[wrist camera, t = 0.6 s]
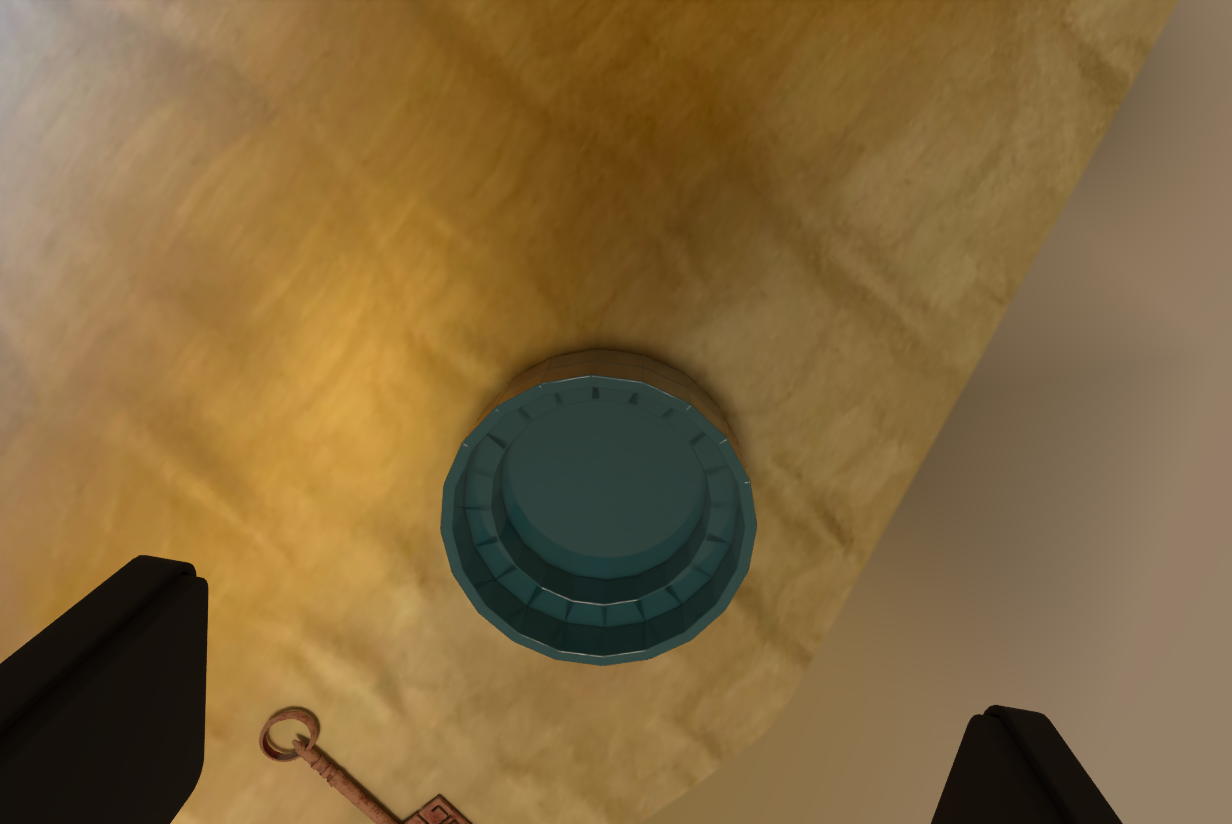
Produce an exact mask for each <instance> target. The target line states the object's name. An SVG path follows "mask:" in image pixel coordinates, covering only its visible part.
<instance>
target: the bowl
mask: <svg viewBox="0 0 1232 824" xmlns="http://www.w3.org/2000/svg"><path fill="white" fill-rule="evenodd" d="M440 529H441V535H442V538H443V542H444V546H445V549H446V553H447V557H448V560H449V564H450V568H451V571H452V574H453V576H454V577H455V579H456V580H457V582H458V583H459V585H460V586H461V588H462V589H463V591H464V592H465V594H466V595H467V597H468V598H469V600H470V601H471V603H472V604H473V606H474V607H475V609H476V610H477V611H478V613H479V614H480V615H482V616H483V617H484V618H485V619H486V620H488V621H489V622H490V623H491V624H493V625H494V626H495V627H496V628H497V629H499V630H500V631H501V632H502V633H503V634H505V635H506V636H507V637H508V638H510V639H511V640H512V641H514V642H516V643H518V644H520V645H523V646H525V647H527V648H530V649H532V650H534V651H537V652H539V653H541V654H544V655H546V656H548V657H551V658H553V659H555V660H556V659H557V660H562V661H569V662H577V663H584V664H592V665H599V666H602V665H603V666H606V665H613V664H620V663H627V662H634V661H641V660H648V659H651V658H653V657H656V656H658V655H660V654H662V653H665V652H667V651H669V650H671V649H673V648H676V647H678V646H680V645H682V644H684V643H687V642H689V641H691V640H692V639H693V638H695V637H696V636H697V635H698V634H699V633H700V632H701V631H703V630H704V629H705V628H706V627H707V626H708V625H709V624H710V623H712V622H713V621H714V620H715V619H716V618H717V617H718V616H720V615H721V614H722V613H723V612H724V611H725V610H726V609H727V607H728V605H729V604H730V602H731V600H732V598H733V597H734V595H735V593H736V592H737V590H738V588H739V586H740V585H741V583H742V581H743V580H744V578H745V576H746V574H747V573H748V570H749V566H750V561H751V556H752V551H753V546H754V540H755V535H756V530H757V521H756V515H755V508H754V502H753V495H752V489H751V482H750V479H749V475H748V472H747V469H746V466H745V463H744V460H743V457H742V454H741V450H740V447H739V444H738V442H737V440H736V438H735V436H734V434H733V432H732V430H731V428H730V427H729V425H728V423H727V421H726V419H725V417H724V415H723V413H722V412H721V410H720V408H719V406H718V405H717V404H716V403H715V402H714V401H713V400H712V399H711V398H710V397H709V396H708V395H707V394H706V393H704V392H703V391H702V390H701V389H700V388H699V387H698V386H697V385H696V384H695V383H694V382H693V381H692V380H691V379H690V378H689V377H687V376H686V375H685V374H683V373H681V372H679V371H677V370H674V369H672V368H670V367H668V366H666V365H664V364H662V363H660V362H657V361H655V360H653V359H651V358H649V357H647V356H644V355H639V354H632V353H624V352H617V351H609V350H602V349H598V350H590V351H585V352H579V353H573V354H568V355H562V356H557V357H553V358H550V359H548V360H546V361H545V362H543V363H541V364H539V365H537V366H535V367H533V368H531V369H530V370H528V371H526V372H524V373H522V374H520V375H518V376H517V377H515V378H514V379H512V380H511V381H510V382H509V383H508V384H507V385H506V386H505V388H504V389H503V390H502V391H501V392H500V393H499V394H498V395H497V396H496V397H495V398H494V399H493V400H492V401H491V402H490V404H489V405H488V406H487V407H486V408H485V409H484V410H483V412H482V413H481V415H480V416H479V418H478V419H477V421H476V422H475V424H474V425H473V427H472V428H471V430H470V431H469V433H468V434H467V436H466V437H465V439H464V440H463V442H462V443H461V446H460V448H459V450H458V452H457V455H456V457H455V459H454V462H453V464H452V466H451V468H450V471H449V473H448V475H447V478H446V480H445V482H444V486H443V498H442V512H441V527H440Z"/></svg>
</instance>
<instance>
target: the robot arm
mask: <svg viewBox="0 0 1232 824" xmlns="http://www.w3.org/2000/svg"><path fill="white" fill-rule="evenodd" d="M207 628H208V583H207V581H206V580H205V579H204V578H201V577H197V576H196V570H195V568H194V566H193V565H192V564H190V563H187V562H182V561H176V560H170V559H165V558H159V557H153V556H148V555H139V556H138V557H136V558H134V559H132V560H131V561H130V562H129V563H127V564H126V565H125V566H124V567H122V568H121V569H120V570H119V571H117V572H116V573H115V574H113V575H112V576H111V577H110V578H108V579H107V580H106V581H105V582H103V583H102V584H101V585H100V586H98V587H97V588H96V589H94V590H93V591H92V592H91V593H89V594H88V595H87V596H86V597H84V598H83V599H82V600H81V601H79V602H78V603H77V604H75V605H74V606H73V607H72V608H70V609H69V610H68V611H67V612H65V613H64V614H63V615H62V616H60V617H59V618H58V619H56V620H55V621H54V622H53V623H51V624H50V625H49V626H48V627H46V628H45V629H44V630H42V631H41V632H40V633H39V634H37V635H36V636H35V637H34V638H32V639H31V640H30V641H29V642H27V643H26V644H25V645H23V646H22V647H21V648H20V649H18V650H17V651H16V652H15V653H13V654H12V655H11V656H10V657H8V658H7V659H6V660H4V661H3V662H2V663H1V664H0V824H170V823H171V822H172V820H173V819H174V817H175V816H176V815H177V813H178V812H179V810H180V809H181V808H182V806H183V805H184V803H185V802H186V801H187V799H188V798H189V796H190V795H191V793H192V792H193V790H194V789H195V787H196V784H197V782H198V780H199V777H200V775H201V772H202V767H203V763H204V742H205V704H206V666H207ZM931 824H1123V823H1122V822H1121V821H1120V819H1119V818H1118V816H1117V815H1116V814H1115V812H1114V811H1113V809H1112V808H1111V807H1110V805H1109V804H1108V802H1107V801H1106V799H1105V798H1104V797H1103V795H1102V794H1101V792H1100V791H1099V789H1098V788H1097V787H1096V785H1095V784H1094V783H1093V781H1092V780H1091V778H1090V777H1089V775H1088V774H1087V773H1086V771H1085V770H1084V768H1083V767H1082V765H1081V764H1080V762H1079V761H1078V760H1077V759H1076V757H1075V755H1074V754H1073V753H1072V752H1071V750H1070V748H1069V747H1068V745H1067V744H1066V743H1065V741H1064V740H1063V738H1062V737H1061V736H1060V734H1059V733H1058V731H1057V730H1056V728H1055V727H1054V726H1053V724H1052V723H1051V721H1050V720H1049V719H1048V718H1047V717H1046V716H1045V715H1044V714H1041V713H1038V712H1034V711H1028V710H1022V709H1016V708H1011V707H1005V706H999V705H993V706H990V707H989V708H988V709H987V710H986V711H985V712H984V714H983V715H980V714H978V715H974V716H973V717H972V718H971V719H970V721H969V723H968V725H967V728H966V731H965V733H964V736H963V739H962V741H961V744H960V747H959V750H958V752H957V755H956V758H955V760H954V763H953V766H952V768H951V771H950V774H949V776H948V779H947V782H946V784H945V787H944V790H943V792H942V795H941V798H940V801H939V803H938V806H937V809H936V811H935V814H934V817H933V819H932V822H931Z"/></svg>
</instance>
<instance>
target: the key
mask: <svg viewBox="0 0 1232 824" xmlns="http://www.w3.org/2000/svg"><path fill="white" fill-rule="evenodd" d="M285 719H296V720H299V721H301V722H303V723H304V724H305V725H306V726H307V727H308V728H309V731H310V734H311V739H310V742H309V744H308V745H307V744H306V743H303V742H300V741H297V740H293V741H292V743H293V745H294V747H295V750H296V752H294V753H289V754H284V753H280V752H277V751H275V750H273V749H272V748H271V747H270V746H269V744H268V742H267V739H266V733H267V730H268V728H269V727H270V726H272V725H273V724H274V723H276V722H278V721H281V720H285ZM316 739H317V726H316V724H315V722H314V720H313V719H312V718H311V717H310V716H309V715H307V714H305V713H303V712H299V711H287V712H283V713H280V714H278V715H276V716H274V717H273V718H271V719H270V720H269V721H268V722H267V723H266V724H265V726H264V727H263V729H262V731H261V733H260V738H259V743H260V748H261V750H262V752H263V753H264V754H265V755H266V756H267V757H268V758H270V759H272V760H275V761H279V762H287V761H292V760H295V759H298V758H300V757H302V758H303V759H304V760H305V761H307V762H308V763H309V764H310V765H311V768H313V769H314V770H315V769H316V770H317V771H318V772H319V773H320V776H322V777H323V778H326V779H327V782H328V783H329V785H330V786H331V787H333V786H334V787H335V788H336V789H337V790H338V791H339V792H340V793H342V794H343V795H344V796H345V797H346V798H347V799H348V800H350V801H351V802H352V803H353V804H354V805H355V806H356V807H358V808H359V809H360V810H361V811H362V812H363V813H364V814H365V815H367V816H368V817H369V818H370V819H371V820H372V821H373V822H375V823H376V824H398V823H396V822H395V821H394V820H393V819H392V818H391V817H390V816H389V815H387V814H386V813H385V812H384V811H383V810H382V809H381V808H380V807H378V806H377V805H376V804H375V803H374V802H373V801H372V800H371V799H369V798H368V797H367V796H366V795H365V794H364V793H363V792H362V791H360V790H359V789H358V788H357V787H356V786H355V785H354V784H353V783H351V782H350V781H349V780H348V779H347V778H346V777H345V776H343V774H344V773H342V772H341V771H339V770H338V769H337V770H335V769H334V766H333V765H332V764H331V763H328V762H326V761H325V760H324V757H323V756H322V755H319V754H317V753H316V752H315V751H314V750H313V749H312V747H313V745H314V743H315V741H316ZM438 804H439V805H440V806H441V807H443V808H444V809H445V810H446V811H447V812H448V813H449V814H450V815H451V816H450V817H449V818H448V819H446V820H445V821H444V822H443V823H441V824H448V823H449V822H451V821H452V820H453V819H454V818H455V819H456V820H457V821H458V822H459V823H460V824H470V823H468V822H467V821H466V820H465V819H464V818H463V817H462V816H461V815H460V814H459V813H457V812H456V811H455V810H454V809H453V808H452V807H451V806H450V805H449V804H448V803H447V802H445V801H444V800H443V799H442V798H441V797H440V796H438V797H437V798H436V799H434V800H433V801H432V802H431V803H429V804H428V805H427V806H426V807H424V808H423V809H422V810H420V812H419V814H420V815H421V816H422V817H423V818H424V819H425V820H426V821H427V822H429V823H430V824H439V823H440V822H441V821H442V820H444V819H445V818H446V817H447V816H448V813H447V812H446V811H444V810H443V809H442V808H441V807H440V806H438V807H437V808H436V809H435V810H433V808H434V807H436V806H437V805H438ZM420 815H418V814H415V815H414V816H413V817H412V818H410V819H409V820H408V821H407V822H405V823H404V824H428V823H427V822H426V821H425V820H424V819H423V818H422V817H421V816H420ZM457 821H453V822H452V823H451V824H459V823H458V822H457Z"/></svg>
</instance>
